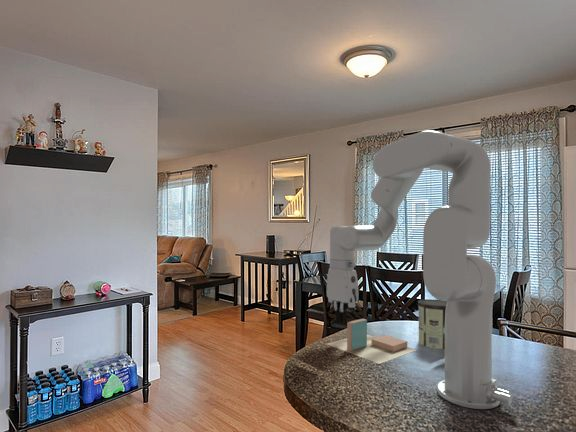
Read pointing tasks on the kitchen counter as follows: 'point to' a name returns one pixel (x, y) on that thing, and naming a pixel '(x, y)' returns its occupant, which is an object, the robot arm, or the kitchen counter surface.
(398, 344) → the tile right
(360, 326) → the tile left
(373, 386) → the kitchen counter surface
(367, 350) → the board
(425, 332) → the coffee can
